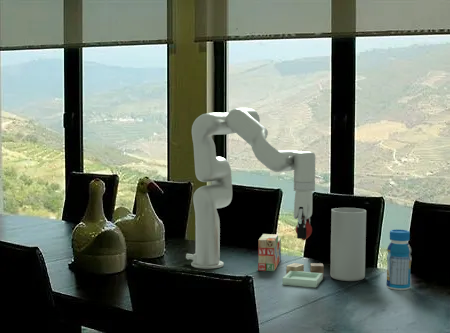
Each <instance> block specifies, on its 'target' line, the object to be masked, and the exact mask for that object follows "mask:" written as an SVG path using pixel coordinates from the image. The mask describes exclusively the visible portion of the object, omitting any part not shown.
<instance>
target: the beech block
mask: <svg viewBox="0 0 450 333" xmlns="http://www.w3.org/2000/svg"><path fill="white" fill-rule="evenodd" d="M304 270H305V264H304V263H297V262H293V263H291V264H287V265H286V270H285V271H286V273H285V275H286V274H287V273H288V272H289V271H301V272H305V271H304Z"/></svg>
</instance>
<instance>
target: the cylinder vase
mask: <svg viewBox="0 0 450 333" xmlns="http://www.w3.org/2000/svg"><path fill="white" fill-rule="evenodd" d="M330 220H331V222H330V224H331V226H330V231H331V232H330V274H329V275H330V277H331V278H332V279H334V280H337V281H342V282H343V281H344V282H358V281H362V280H363V279H365V276H366V242H367V241H366V239H367V238H366V237H367V210H366V209H364V208H356V207H338V208H337V207H335V208H331V218H330Z"/></svg>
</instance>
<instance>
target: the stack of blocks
mask: <svg viewBox="0 0 450 333" xmlns="http://www.w3.org/2000/svg"><path fill="white" fill-rule="evenodd" d="M281 239H282V238H281V237H279V234H275V233H274V234H273V233H271V234H270V233H262V235H261V236H260V237H259V239H257V240H258V246H257V247H258V248H257V252H258V254H257V256H258V259H257V260H258V261H257V264H258V265H257V271H262V272H268V271H269V272H275V270H276V269H277V267H278V265H279V263H280V262H281V259H282V245H281V244H282V243H281V242H282V241H281Z"/></svg>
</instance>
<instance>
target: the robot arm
mask: <svg viewBox="0 0 450 333" xmlns="http://www.w3.org/2000/svg"><path fill="white" fill-rule="evenodd" d="M260 120H261V119H260V115H259V114H258V112H257V111H256V110H255V109H253V108H250V107H249V108H248V107H238V108H233V109H231V110H229V112H207V113H202V114H201V115H199V116H198V117H196V118H195V120H194V121H193V123H192V125H191V137H192V139H191V140H192V143H193V144H192V146H193V158H194V172H195V177H196V179H197V180H198V181H199V182H202V183H208V182H209V183H210V182H211V184H207V185H203V186H199V187H198V188H197V189H196V190H195V191H194V193H193V194H192V202H193V207H194V216H195V221H194V222H195V253H193V254H192V253H186V254H185V259H186V260H192V262H191V263H190V264H191V267H193V268H196V269H204V270H210V269H213V270H214V269H218V268H219V269H220V268H222V267H224V264H225V263H224V261H222V260H220V256H221V252H220V251H221V250H220V245H221V244H220V242H221V241H220V240H221V237H220V236H221V234H220V233H221V228H220V227H221V223H220V222H221V221H220V216H219V213H218V210H217V209H222V208H225V207H227V206H229V205H230V204H231V202H232V200H233V182H232V181H233V179H232V170H231V165H230V163H229V161H228V160H227V159H226V158H224V157H222V156H217V152H216V151H217V150H216V144H215V142H214V139H213V138H212V136H216V135H232V134H236V135H238V136H239V137H240V138H241V139H243V140H244V142H246V143H247V144H248V145H249V146H250V147H251V150H252V152H253V155H254V156H255V157H256V159H257V160H258V161H259V162H260V163H261V164H263V165H264V166H265V167H266V168H267V169H268V170H270V171H272V172H275V173H282V172H292V171H293V191H295V194H294V203H293V205H294V206H293V219H295V220H297V224H296V226H297V233H296V238H297V239H301V240H302V239H306V228H307V227H306V221H307V222H309V223H310V224H311V217H312V215H313V192H316V154H315V153H314V152H313V151H298V150H293V149H285V150H283V149H282V150H278V149H276V148H275V147H274V146H273V145H271V144H270V143H269V142H268V141H267V138H268V133H269V132H268V128H266V127H265V126H264V125H263V124H261V123H260ZM303 221H304V222H303ZM306 240H307V239H306Z"/></svg>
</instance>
